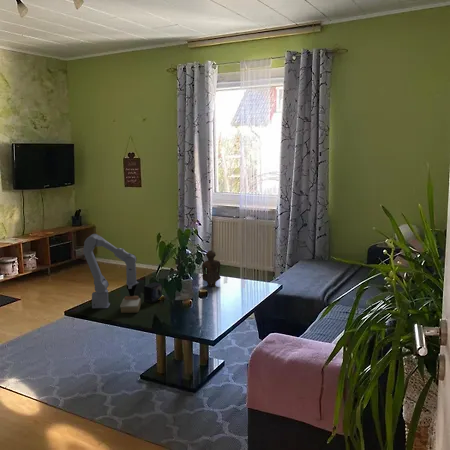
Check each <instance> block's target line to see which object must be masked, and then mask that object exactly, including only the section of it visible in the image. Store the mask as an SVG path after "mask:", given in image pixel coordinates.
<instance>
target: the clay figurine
mask: <svg viewBox="0 0 450 450" xmlns="http://www.w3.org/2000/svg"><path fill="white" fill-rule="evenodd" d="M216 255H217V254H216V252H215V251H214V250H209V251H206V254H205V256H206V258H207V260H204V261H203V262H202V265H201V269H202V270H201V271H202V275H201V277H202V280H203V281H205V282H206V285H207V286H208V288H209V287H212V286H213V287H216V284H217V281H219V280H221V275H220V272H221V262H220V261H219V260H218V259H217V260H216V259H215V257H216ZM204 267H206V268H207V274H204V273H205V268H204Z"/></svg>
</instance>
